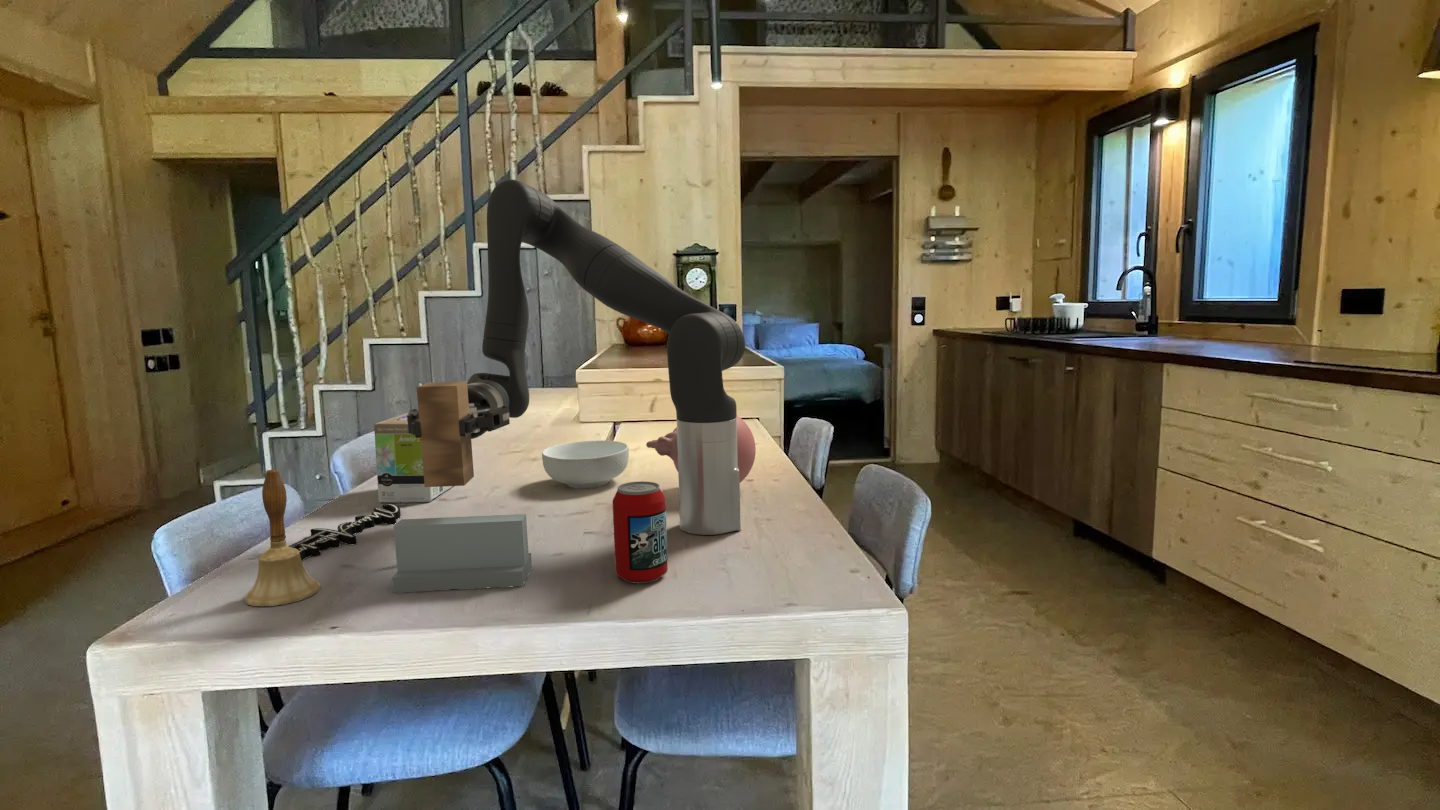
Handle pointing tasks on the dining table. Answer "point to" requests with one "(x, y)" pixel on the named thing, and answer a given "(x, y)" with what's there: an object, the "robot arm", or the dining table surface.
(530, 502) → the dining table surface
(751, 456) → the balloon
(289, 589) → the hand bell
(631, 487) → the beverage can
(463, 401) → the walnut post
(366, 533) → the dining table surface
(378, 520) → the nameplate
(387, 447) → the tea box
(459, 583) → the ridge
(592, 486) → the cereal bowl
